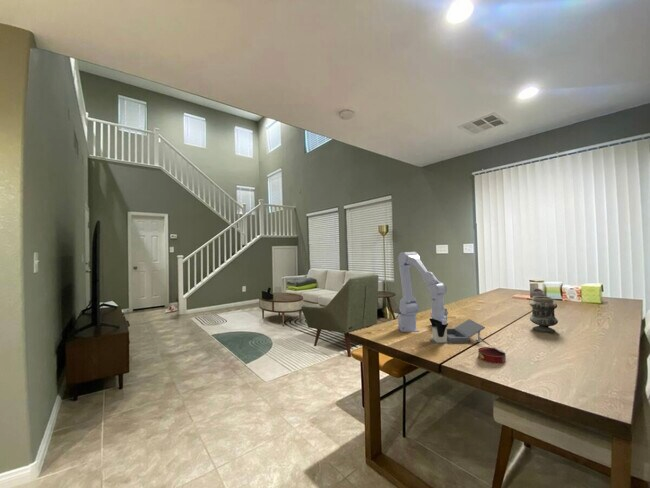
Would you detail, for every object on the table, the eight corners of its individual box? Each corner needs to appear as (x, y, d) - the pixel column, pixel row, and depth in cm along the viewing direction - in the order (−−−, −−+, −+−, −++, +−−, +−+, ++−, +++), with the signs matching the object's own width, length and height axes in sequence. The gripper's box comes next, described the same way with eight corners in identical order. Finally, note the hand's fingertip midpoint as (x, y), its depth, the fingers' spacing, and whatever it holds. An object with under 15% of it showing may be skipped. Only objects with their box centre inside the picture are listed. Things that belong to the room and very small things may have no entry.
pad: (434, 344, 134) (434, 343, 134) (428, 339, 141) (428, 338, 141) (449, 343, 134) (448, 343, 134) (442, 338, 141) (442, 338, 141)
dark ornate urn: (547, 326, 155) (547, 294, 155) (564, 333, 143) (563, 299, 143) (524, 326, 157) (524, 295, 156) (539, 333, 145) (538, 299, 144)
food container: (452, 329, 155) (452, 311, 155) (441, 329, 155) (441, 311, 155) (443, 322, 167) (443, 306, 167) (433, 323, 168) (432, 306, 167)
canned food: (481, 364, 121) (480, 341, 125) (508, 368, 115) (506, 343, 119) (474, 360, 114) (474, 335, 118) (503, 363, 107) (501, 337, 112)
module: (436, 342, 135) (436, 329, 135) (432, 338, 140) (432, 326, 140) (446, 342, 135) (446, 329, 135) (442, 338, 140) (442, 326, 140)
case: (450, 343, 134) (450, 328, 134) (438, 333, 148) (437, 319, 148) (485, 342, 134) (485, 327, 134) (469, 332, 149) (469, 319, 149)
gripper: (452, 310, 130) (453, 339, 130) (439, 304, 144) (440, 330, 144) (438, 311, 130) (438, 340, 130) (426, 304, 144) (426, 330, 144)
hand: (438, 334), depth 137 cm, fingers closed on module, 5 cm apart
